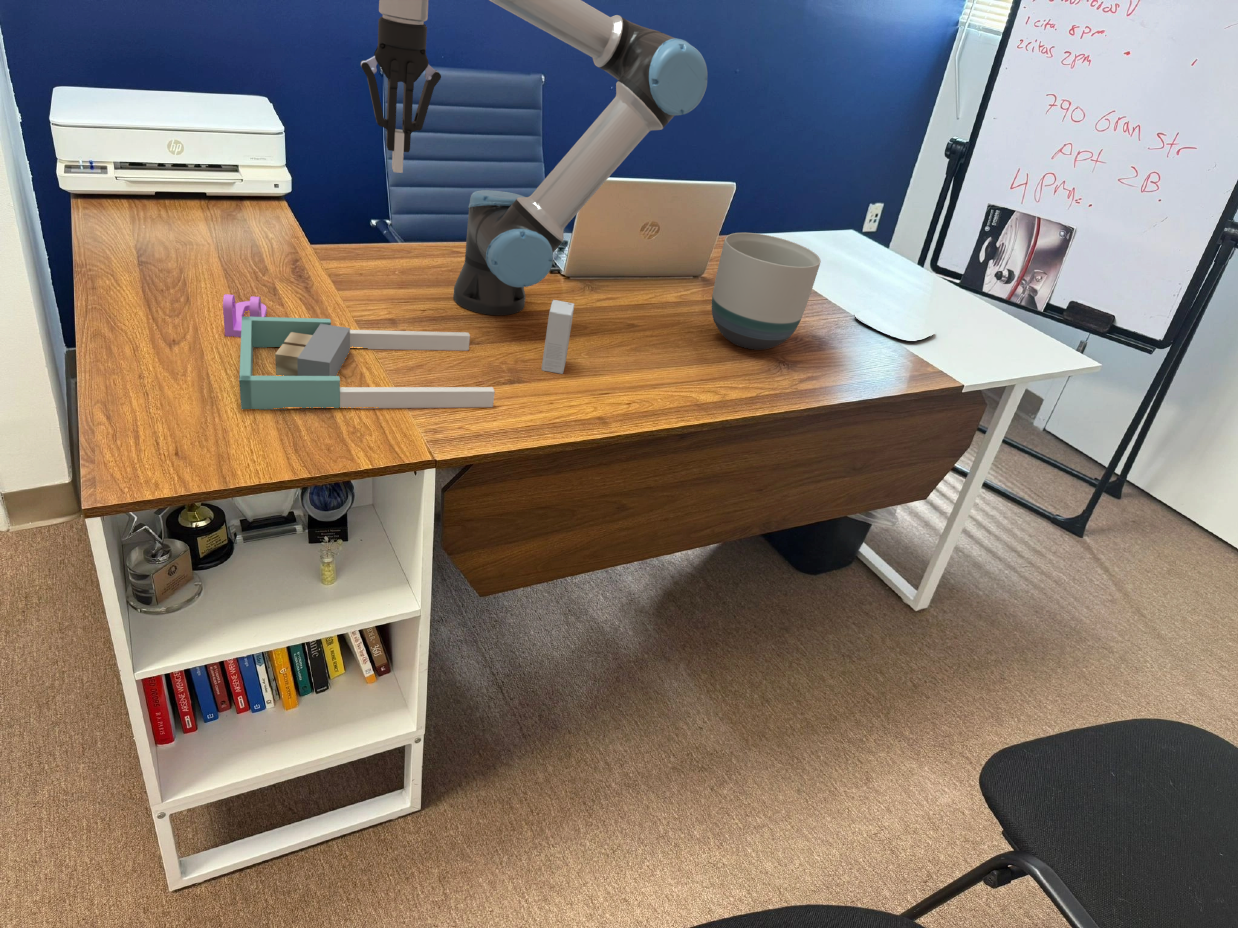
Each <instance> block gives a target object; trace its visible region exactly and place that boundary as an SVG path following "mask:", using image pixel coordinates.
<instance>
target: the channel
mask: <svg viewBox="0 0 1238 928" xmlns="http://www.w3.org/2000/svg"><path fill="white" fill-rule="evenodd" d="M470 340H471V334H470V333H469V332H465V331H463V332H461V331H460V332H459V331H458V332H457V331H456V332H455V331H420V330H419V331H413V330H412V331H411V330H380V329H379V330H371V329H350V347H352V346H353V347H363V348H368V349H367V350H397V351H398V350H404V351H405V350H406V351H407V350H409V351H411V350H412V351H413V350H414V351H417V350H418V351H469V350H470ZM495 392H496V391H495V389H494V387H493V386H486V387H485V386H480V387H479V386H469V387H467V386H465V387H464V386H459V387H458V386H457V387H456V386H452V387H451V386H449V387H448V386H446V387H445V386H441V387H439V386H435V387H434V386H433V387H432V386H429V387H427V386H421V387H420V386H418V387H416V386H414V387H413V386H409V387H408V386H405V387H400V386H399V387H397V386H396V387H395V386H394V387H393V386H388V387H383V386H382V387H381V386H380V387H378V386H377V387H376V386H375V387H373V386H372V387H370V386H369V387H367V386H366V387H365V386H364V387H362V386H357V387H356V386H355V387H354V386H350V387H346V386H343V387H341V386H340V408H341V407H342V408H343V407H344V408H345V407H346V408H348V407H351V408H354V407H355V408H356V407H362V408H361V409H364V408H363V407H375V408H374V409H377V408H376V407H379V408H378V409H433V408H435V409H436V408H437V409H438V408H439V409H440V408H441V409H442V408H446V409H447V408H448V409H450V408H456V409H457V408H460V409H461V408H494V401H495V394H496V393H495Z"/></svg>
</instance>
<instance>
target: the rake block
mask: <svg viewBox="0 0 1238 928" xmlns="http://www.w3.org/2000/svg"><path fill="white" fill-rule="evenodd" d="M350 330H351V328H350V327H345V326H338V325H332V324H331V325H326V324H320V325H319V327H318V328H317V330H316V331H315V333H314V334H313V336H312V337H311V339H310V340H309V342H308V343H307V345H306V346H305V348H304V349H303V351H302V352H301V354H300V355H299V357H298V358H297V363H298V376H336V375H337V373H338V371H339V370H340V371H341V369H342V367H343V366H342V364H343V363H344V364H345V362H346V360H345V358H346V357H347V355H348V353H349V351H350V350H351V349H350ZM350 352H351V351H350ZM349 354H350V353H349ZM348 356H349V355H348ZM347 358H348V357H347ZM344 361H345V362H344ZM344 364H343V365H344ZM341 366H342V367H341ZM340 368H341V369H340ZM340 371H339V372H340ZM338 374H339V373H338ZM337 376H338V375H337Z"/></svg>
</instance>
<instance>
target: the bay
mask: <svg viewBox="0 0 1238 928" xmlns="http://www.w3.org/2000/svg"><path fill="white" fill-rule="evenodd" d="M320 324H326V325H332V320H331V318H317V317H315V318H313V317H310V318H309V317H308V318H307V317H279V316H278V317H277V316H276V317H275V316H274V317H273V316H266V317H250V316H245V315H244V316H242V327H241V337H240V354H239V355H240V358H239V376H238V377H239V378H238V379H239V380H238V381H239V394H240V396H239V397H240V410H242V409H243V410H242V411H244V409H259V410H274V409H273V408H283V407H284V408H285V407H302V408H306V407H309V408H310V407H311V408H313V407H321V408H322V407H323V408H326V407H334V408H339V407H340V387H341V378H340V376H339V375H337V376H276V375H253V373H254V372H253V369H254V368H253V365H254V364H253V363H254V348H267V347H280V346H282V344H284V341H285V340H286V338H287V337H288V336H289V334H290V333H291V332H294V333H301V334H308V335H313V334H314V333H315V331H316V330H317V328H318V327H319V325H320Z"/></svg>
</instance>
